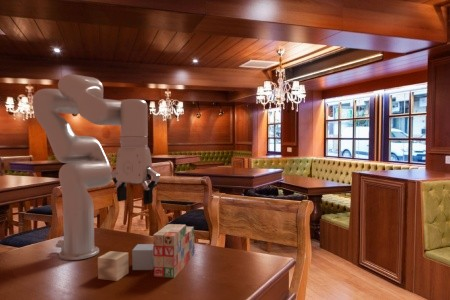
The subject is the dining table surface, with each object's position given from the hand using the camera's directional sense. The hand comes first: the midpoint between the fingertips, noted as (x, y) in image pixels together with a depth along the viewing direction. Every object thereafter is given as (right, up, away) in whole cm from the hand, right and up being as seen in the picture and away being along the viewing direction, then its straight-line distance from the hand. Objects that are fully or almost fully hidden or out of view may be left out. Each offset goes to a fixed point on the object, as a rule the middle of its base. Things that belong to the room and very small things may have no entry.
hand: (134, 202), depth 100 cm
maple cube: (-6, -21, -1) cm, 22 cm away
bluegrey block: (+2, -21, +6) cm, 22 cm away
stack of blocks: (+11, -21, +8) cm, 25 cm away
